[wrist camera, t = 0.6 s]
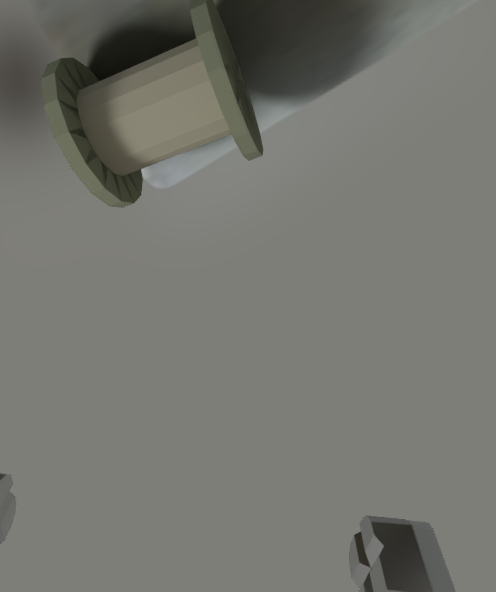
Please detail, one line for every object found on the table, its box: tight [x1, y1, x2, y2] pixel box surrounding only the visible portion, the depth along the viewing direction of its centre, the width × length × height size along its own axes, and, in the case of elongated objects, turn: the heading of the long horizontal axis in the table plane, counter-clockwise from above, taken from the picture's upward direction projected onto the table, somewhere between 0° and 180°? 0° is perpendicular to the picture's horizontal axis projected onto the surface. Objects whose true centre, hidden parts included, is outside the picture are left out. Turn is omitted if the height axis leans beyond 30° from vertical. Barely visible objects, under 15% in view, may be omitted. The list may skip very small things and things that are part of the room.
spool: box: [41, 0, 263, 207], centre depth 45 cm, size 16×15×15 cm
